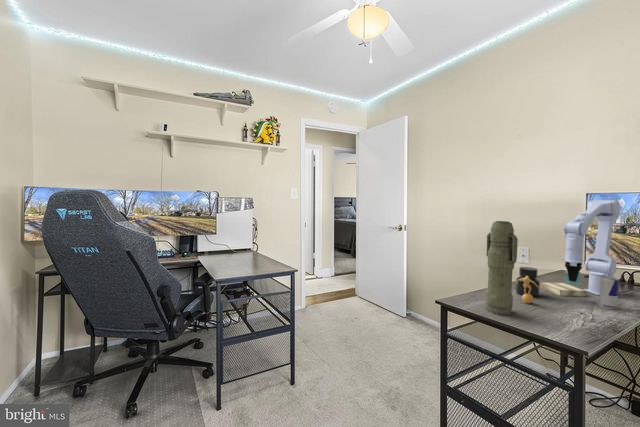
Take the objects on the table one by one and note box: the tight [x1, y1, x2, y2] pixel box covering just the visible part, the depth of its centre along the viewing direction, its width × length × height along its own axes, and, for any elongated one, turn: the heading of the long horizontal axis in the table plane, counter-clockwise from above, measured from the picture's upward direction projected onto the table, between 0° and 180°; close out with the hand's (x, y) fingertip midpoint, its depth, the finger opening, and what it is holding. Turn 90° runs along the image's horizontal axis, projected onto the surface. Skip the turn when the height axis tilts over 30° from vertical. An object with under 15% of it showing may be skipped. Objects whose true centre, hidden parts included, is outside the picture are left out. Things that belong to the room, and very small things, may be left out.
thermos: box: [485, 220, 518, 316], centre depth 113 cm, size 9×12×35 cm
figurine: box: [515, 276, 540, 304], centre depth 122 cm, size 8×6×12 cm
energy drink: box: [598, 277, 620, 310], centre depth 119 cm, size 5×5×12 cm
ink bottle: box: [515, 266, 541, 298], centre depth 134 cm, size 10×9×12 cm
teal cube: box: [564, 269, 582, 287], centre depth 127 cm, size 5×5×5 cm
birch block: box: [540, 282, 588, 297], centre depth 139 cm, size 12×12×3 cm
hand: (572, 279), depth 127 cm, fingers closed on teal cube, 5 cm apart
